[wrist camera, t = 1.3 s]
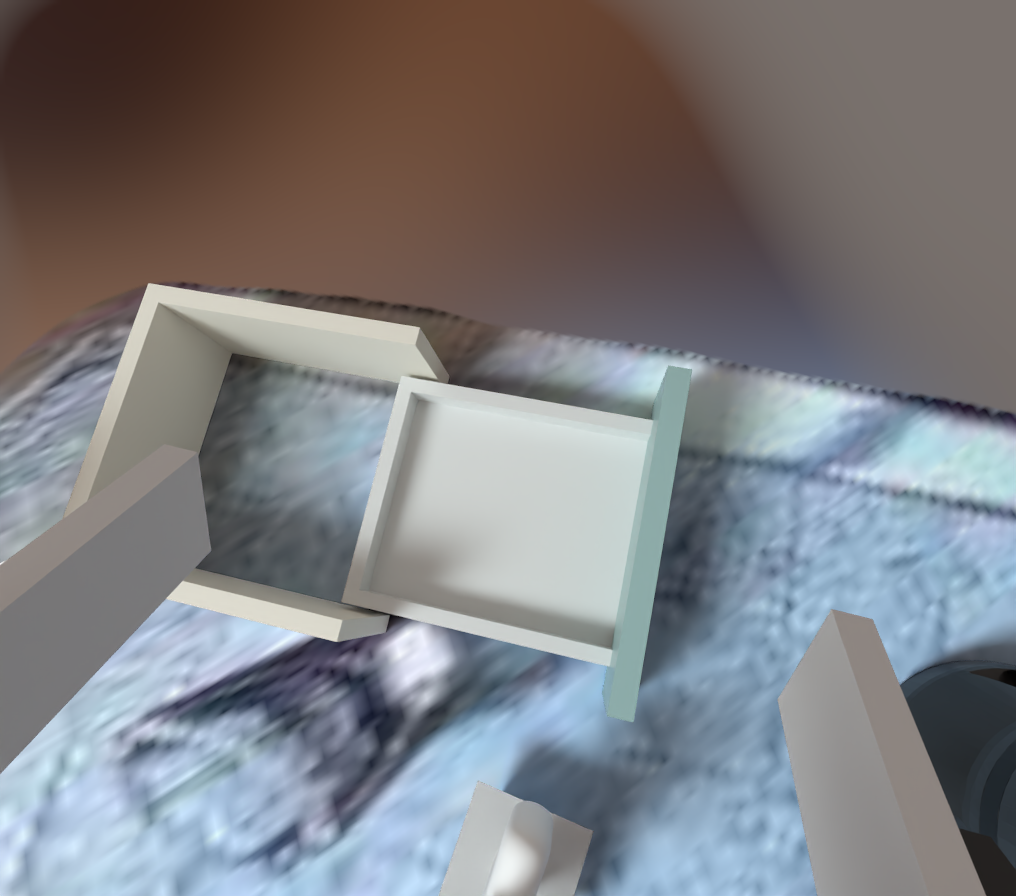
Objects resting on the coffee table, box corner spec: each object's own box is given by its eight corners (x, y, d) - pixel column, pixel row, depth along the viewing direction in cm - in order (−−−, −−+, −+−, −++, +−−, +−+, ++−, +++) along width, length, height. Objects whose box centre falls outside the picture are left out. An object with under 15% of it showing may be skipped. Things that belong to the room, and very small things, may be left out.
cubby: (449, 376, 47) (420, 327, 39) (385, 632, 44) (336, 641, 35) (223, 337, 50) (148, 283, 42) (144, 573, 47) (44, 568, 38)
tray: (672, 408, 45) (692, 369, 37) (623, 698, 41) (633, 722, 33) (418, 364, 48) (387, 320, 40) (349, 630, 44) (299, 637, 36)
